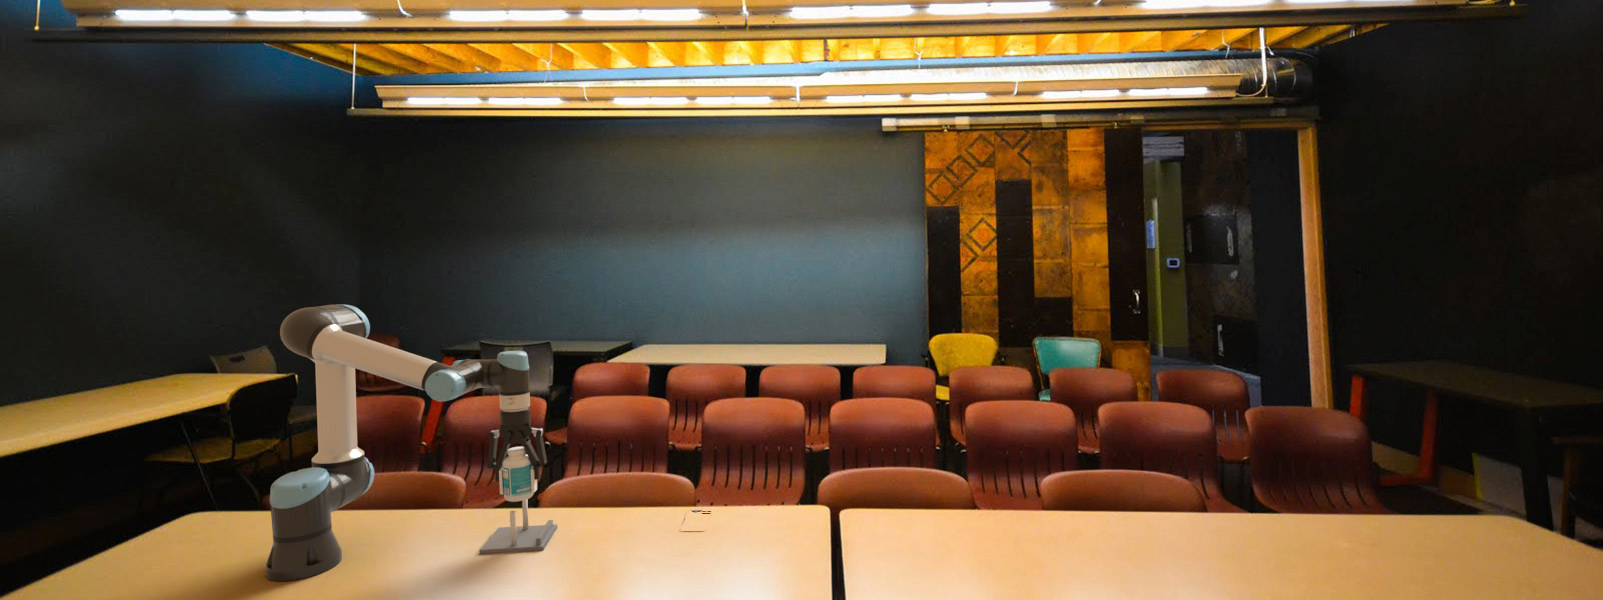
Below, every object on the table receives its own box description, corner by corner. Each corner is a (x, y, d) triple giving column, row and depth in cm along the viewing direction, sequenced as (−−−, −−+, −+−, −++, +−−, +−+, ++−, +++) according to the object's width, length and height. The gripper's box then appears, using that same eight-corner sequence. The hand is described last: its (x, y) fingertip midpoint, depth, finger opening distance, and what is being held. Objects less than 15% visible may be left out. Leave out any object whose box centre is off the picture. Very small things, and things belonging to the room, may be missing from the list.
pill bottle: (539, 493, 179) (537, 445, 178) (525, 503, 171) (523, 453, 171) (513, 492, 180) (511, 444, 179) (498, 502, 172) (496, 452, 171)
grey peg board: (479, 553, 169) (478, 516, 168) (498, 530, 182) (497, 496, 182) (543, 550, 170) (542, 513, 170) (557, 527, 184) (556, 493, 183)
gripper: (470, 413, 169) (474, 498, 171) (550, 410, 171) (553, 494, 173) (481, 406, 176) (484, 488, 178) (558, 404, 179) (561, 485, 180)
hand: (518, 491), depth 175 cm, fingers closed on pill bottle, 7 cm apart
